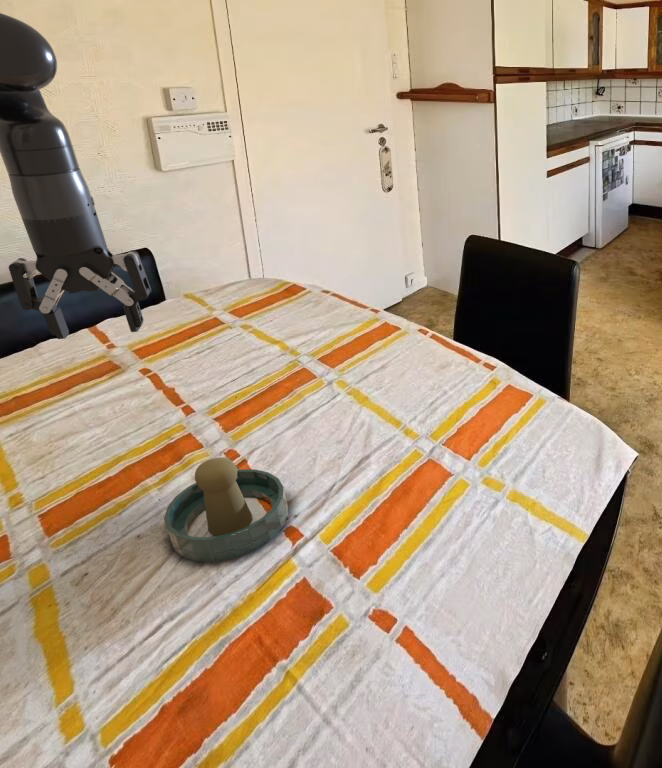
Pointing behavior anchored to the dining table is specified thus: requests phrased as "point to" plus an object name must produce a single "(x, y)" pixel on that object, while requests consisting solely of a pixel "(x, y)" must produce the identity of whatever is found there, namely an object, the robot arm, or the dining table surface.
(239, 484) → the green faceted band
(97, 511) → the dining table surface
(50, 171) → the robot arm
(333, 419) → the dining table surface
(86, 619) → the dining table surface
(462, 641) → the dining table surface
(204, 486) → the cork
